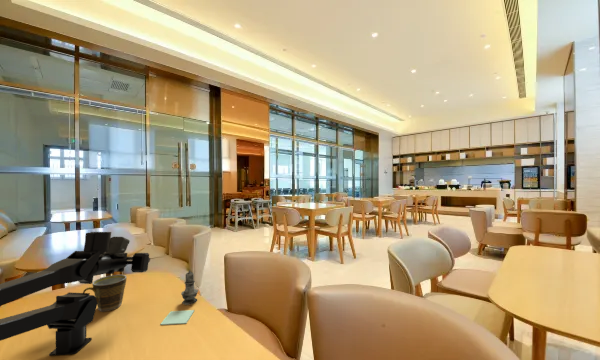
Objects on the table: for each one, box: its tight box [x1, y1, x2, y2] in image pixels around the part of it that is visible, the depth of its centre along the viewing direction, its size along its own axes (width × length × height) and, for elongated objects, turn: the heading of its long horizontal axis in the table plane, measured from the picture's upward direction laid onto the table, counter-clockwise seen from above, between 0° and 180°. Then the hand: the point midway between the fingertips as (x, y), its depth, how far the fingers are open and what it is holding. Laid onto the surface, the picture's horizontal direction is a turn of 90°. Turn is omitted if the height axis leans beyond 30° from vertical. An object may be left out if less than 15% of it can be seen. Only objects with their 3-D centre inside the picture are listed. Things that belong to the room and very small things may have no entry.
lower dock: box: [160, 309, 195, 326], centre depth 85 cm, size 8×8×1 cm
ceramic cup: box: [82, 274, 127, 312], centre depth 92 cm, size 13×10×10 cm
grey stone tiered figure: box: [180, 269, 199, 306], centre depth 97 cm, size 6×6×12 cm
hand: (138, 259), depth 96 cm, fingers open, 9 cm apart
